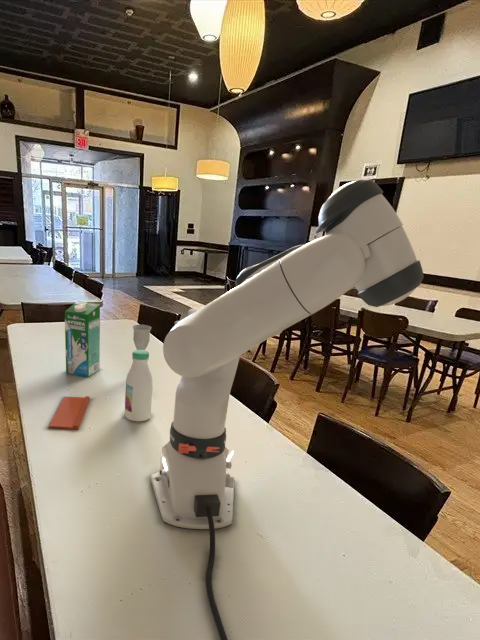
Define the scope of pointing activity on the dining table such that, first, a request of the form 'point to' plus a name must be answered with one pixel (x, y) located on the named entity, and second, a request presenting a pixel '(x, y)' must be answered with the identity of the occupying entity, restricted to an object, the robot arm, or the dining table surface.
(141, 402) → the milk bottle
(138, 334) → the chalice
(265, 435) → the dining table surface
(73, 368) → the milk carton
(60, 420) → the roof tile
